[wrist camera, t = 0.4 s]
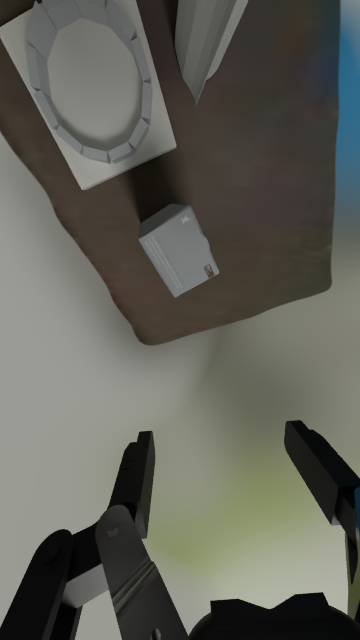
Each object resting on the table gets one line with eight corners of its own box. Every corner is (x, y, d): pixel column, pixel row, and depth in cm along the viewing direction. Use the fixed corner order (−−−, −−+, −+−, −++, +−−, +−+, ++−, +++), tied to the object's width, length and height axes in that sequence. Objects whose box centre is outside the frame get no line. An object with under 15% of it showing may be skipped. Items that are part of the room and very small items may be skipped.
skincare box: (139, 223, 33) (127, 238, 19) (176, 199, 31) (190, 198, 18) (165, 265, 37) (169, 302, 24) (198, 246, 36) (222, 274, 22)
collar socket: (5, 39, 22) (-23, 9, 18) (125, -31, 20) (118, -78, 17) (85, 190, 30) (75, 188, 26) (175, 148, 28) (177, 140, 25)
